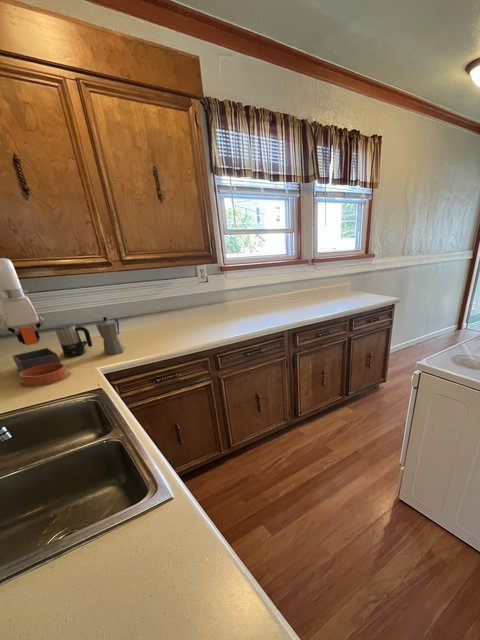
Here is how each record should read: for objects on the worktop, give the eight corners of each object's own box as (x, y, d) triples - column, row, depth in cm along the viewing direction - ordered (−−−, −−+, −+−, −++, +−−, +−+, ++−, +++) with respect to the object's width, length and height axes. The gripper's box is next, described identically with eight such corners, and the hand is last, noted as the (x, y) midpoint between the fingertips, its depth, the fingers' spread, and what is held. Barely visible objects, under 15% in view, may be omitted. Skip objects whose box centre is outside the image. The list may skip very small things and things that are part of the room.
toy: (26, 345, 127) (20, 330, 124) (23, 343, 130) (17, 328, 127) (38, 343, 130) (32, 328, 127) (35, 341, 132) (29, 326, 130)
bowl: (30, 391, 126) (25, 380, 124) (20, 382, 135) (15, 371, 133) (74, 379, 137) (70, 368, 134) (61, 371, 145) (57, 360, 143)
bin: (27, 378, 138) (20, 362, 135) (19, 371, 146) (12, 355, 142) (62, 369, 147) (56, 353, 144) (53, 363, 155) (47, 347, 151)
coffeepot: (115, 356, 161) (105, 320, 153) (98, 356, 162) (86, 320, 154) (132, 346, 175) (123, 313, 167) (116, 346, 176) (106, 313, 168)
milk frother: (68, 358, 160) (57, 329, 153) (55, 352, 168) (44, 324, 162) (98, 351, 170) (89, 322, 163) (85, 345, 178) (76, 318, 172)
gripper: (35, 290, 129) (52, 335, 137) (-20, 296, 118) (1, 345, 126) (40, 292, 125) (57, 338, 133) (-16, 298, 113) (6, 349, 122)
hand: (30, 341), depth 129 cm, fingers closed on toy, 4 cm apart
